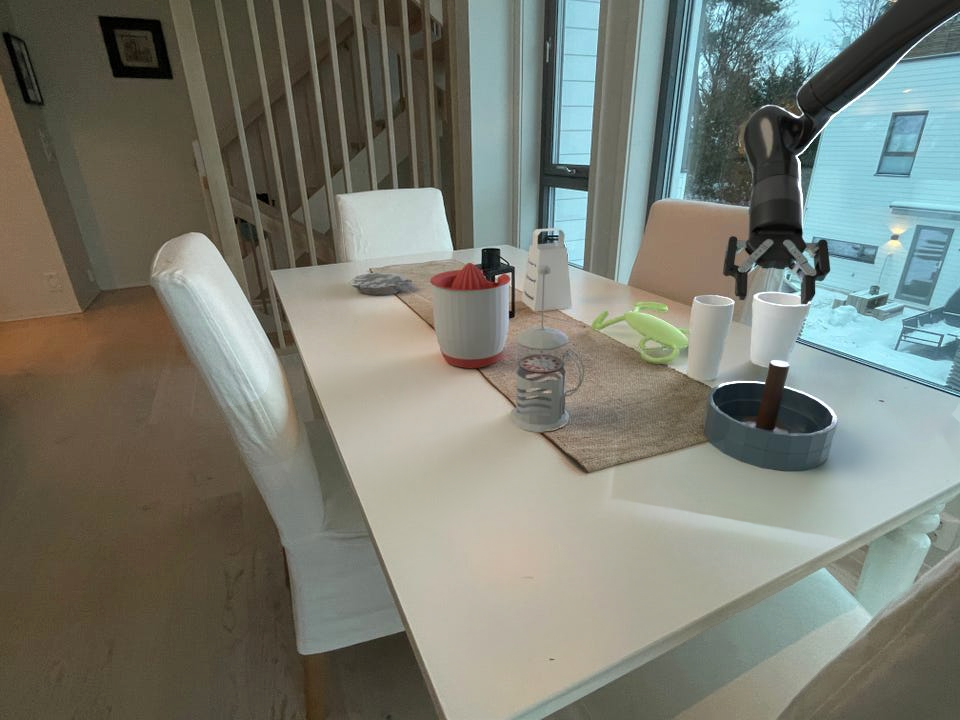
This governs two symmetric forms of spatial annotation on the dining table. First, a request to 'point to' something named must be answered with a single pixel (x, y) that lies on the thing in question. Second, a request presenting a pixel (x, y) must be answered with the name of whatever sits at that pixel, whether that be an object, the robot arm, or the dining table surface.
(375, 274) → the brain slice
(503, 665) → the dining table surface
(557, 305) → the grater
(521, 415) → the french press
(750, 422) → the stirring muddler
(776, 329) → the foam cup
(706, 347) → the drinking glass
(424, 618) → the dining table surface
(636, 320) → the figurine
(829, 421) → the bowl
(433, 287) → the citrus juicer
